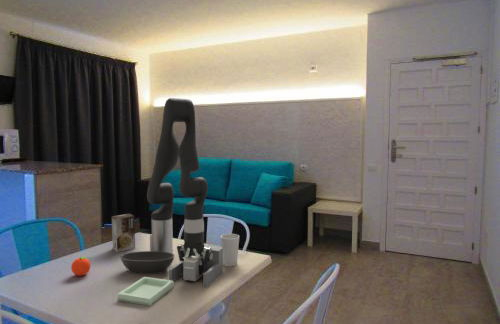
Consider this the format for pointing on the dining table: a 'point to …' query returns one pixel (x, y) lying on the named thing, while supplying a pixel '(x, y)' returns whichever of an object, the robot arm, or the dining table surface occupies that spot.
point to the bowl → (147, 261)
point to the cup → (230, 249)
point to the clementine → (81, 266)
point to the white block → (191, 269)
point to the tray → (146, 291)
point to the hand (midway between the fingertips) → (194, 272)
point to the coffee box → (123, 232)
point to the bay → (210, 268)
